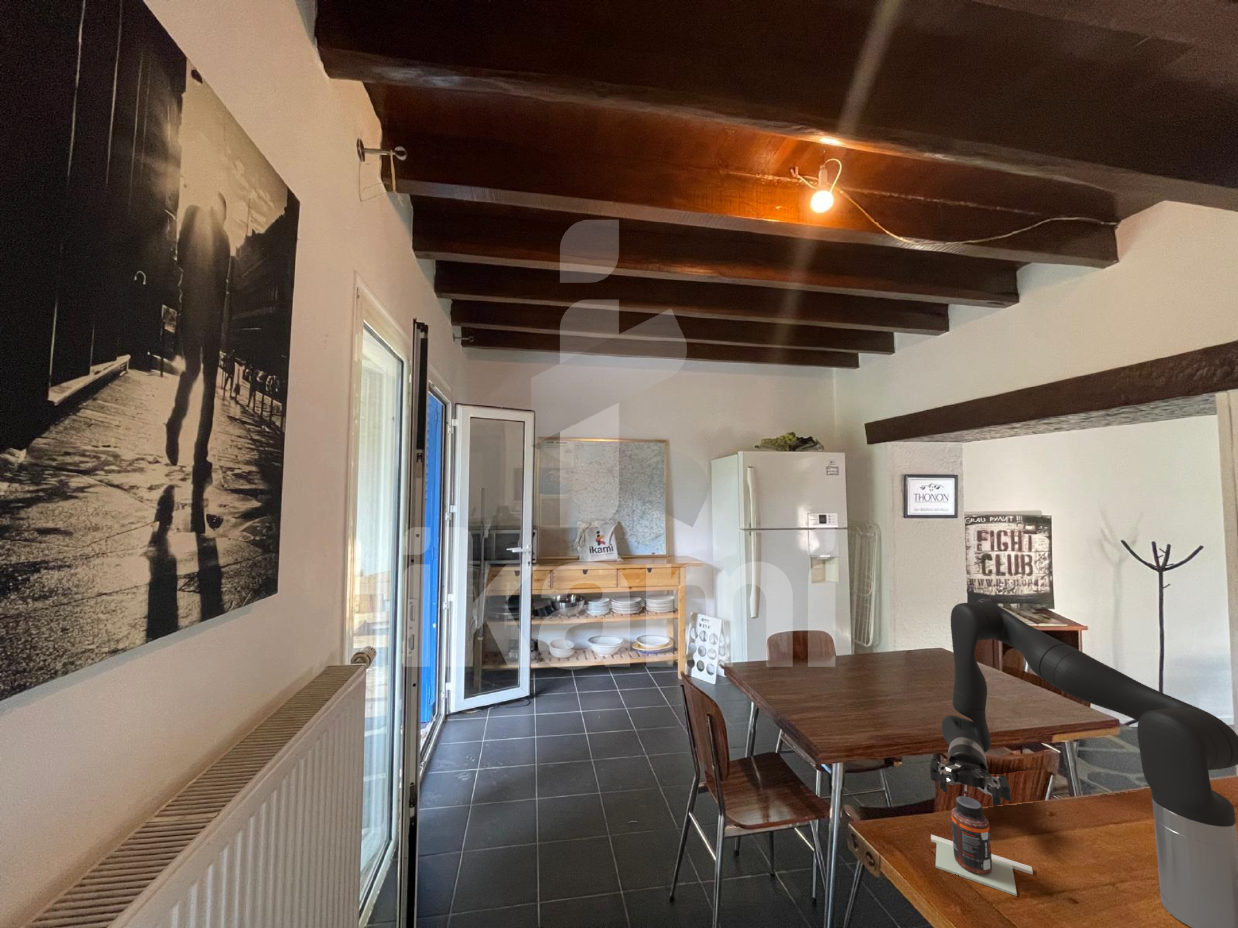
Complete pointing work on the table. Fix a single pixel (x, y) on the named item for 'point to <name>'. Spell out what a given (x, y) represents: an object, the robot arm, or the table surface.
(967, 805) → the supplement bottle
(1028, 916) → the table surface
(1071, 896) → the table surface
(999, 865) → the white flat t-shaped panel
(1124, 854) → the table surface
